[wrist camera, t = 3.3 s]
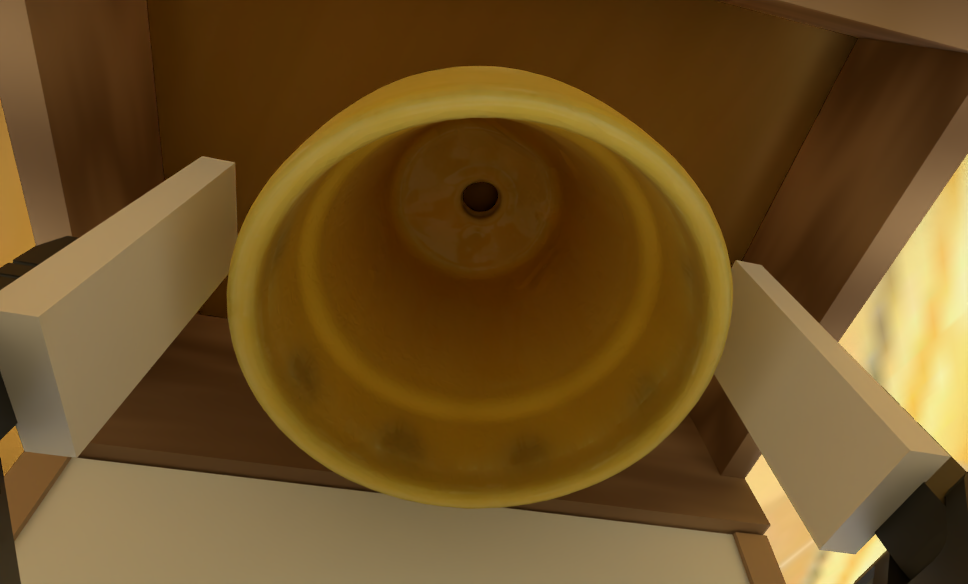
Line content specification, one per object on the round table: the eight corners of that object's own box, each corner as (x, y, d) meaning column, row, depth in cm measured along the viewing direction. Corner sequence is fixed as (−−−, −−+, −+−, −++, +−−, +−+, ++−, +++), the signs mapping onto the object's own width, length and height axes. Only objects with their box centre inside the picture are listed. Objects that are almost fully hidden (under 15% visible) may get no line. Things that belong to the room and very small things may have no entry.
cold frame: (687, 406, 25) (757, 542, 19) (153, 326, 22) (33, 458, 16) (904, 10, 16) (1156, 26, 10) (85, -212, 13) (-231, -372, 7)
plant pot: (569, -25, 16) (686, -34, 7) (647, 257, 21) (769, 445, 12) (275, 111, 18) (97, 229, 9) (411, 340, 22) (378, 554, 14)
